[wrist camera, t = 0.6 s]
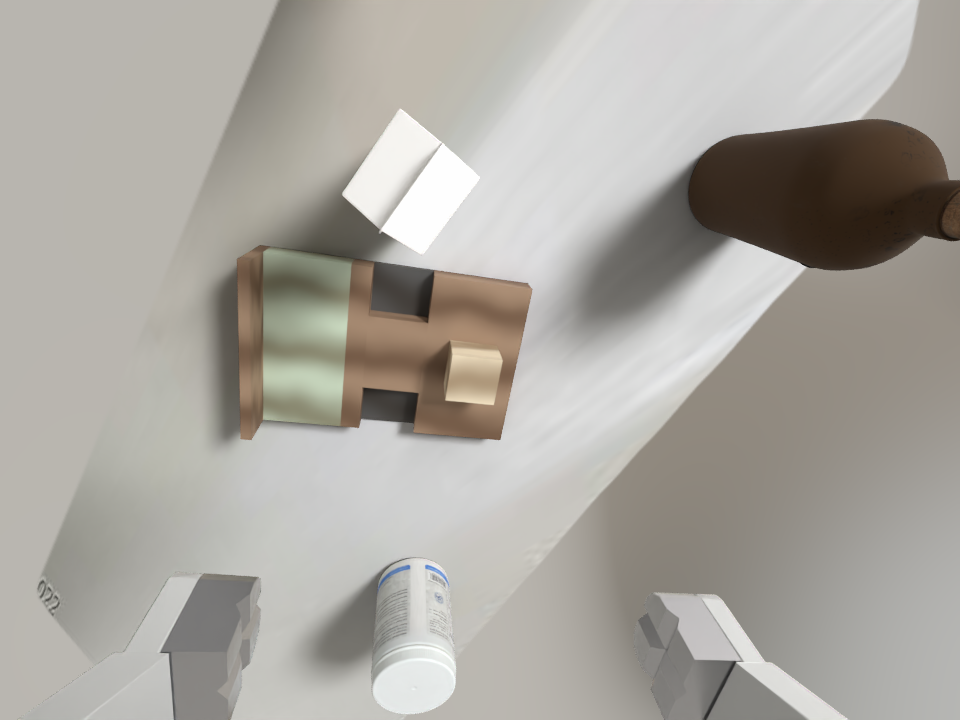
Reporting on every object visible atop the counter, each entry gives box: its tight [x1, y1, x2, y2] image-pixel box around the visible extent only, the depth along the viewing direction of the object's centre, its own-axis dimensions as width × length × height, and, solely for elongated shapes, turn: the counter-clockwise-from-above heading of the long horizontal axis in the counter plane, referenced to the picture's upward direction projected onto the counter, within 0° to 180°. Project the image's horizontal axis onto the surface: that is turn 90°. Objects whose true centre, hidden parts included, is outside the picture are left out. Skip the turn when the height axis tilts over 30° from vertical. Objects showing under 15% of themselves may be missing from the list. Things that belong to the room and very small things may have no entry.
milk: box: [342, 109, 480, 255], centre depth 36 cm, size 6×6×22 cm
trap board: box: [237, 245, 532, 440], centre depth 50 cm, size 18×27×6 cm, turn 80°
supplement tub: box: [371, 558, 456, 714], centre depth 60 cm, size 10×10×15 cm
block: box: [444, 340, 503, 405], centre depth 50 cm, size 5×5×4 cm
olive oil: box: [689, 119, 960, 270], centre depth 39 cm, size 11×11×25 cm
